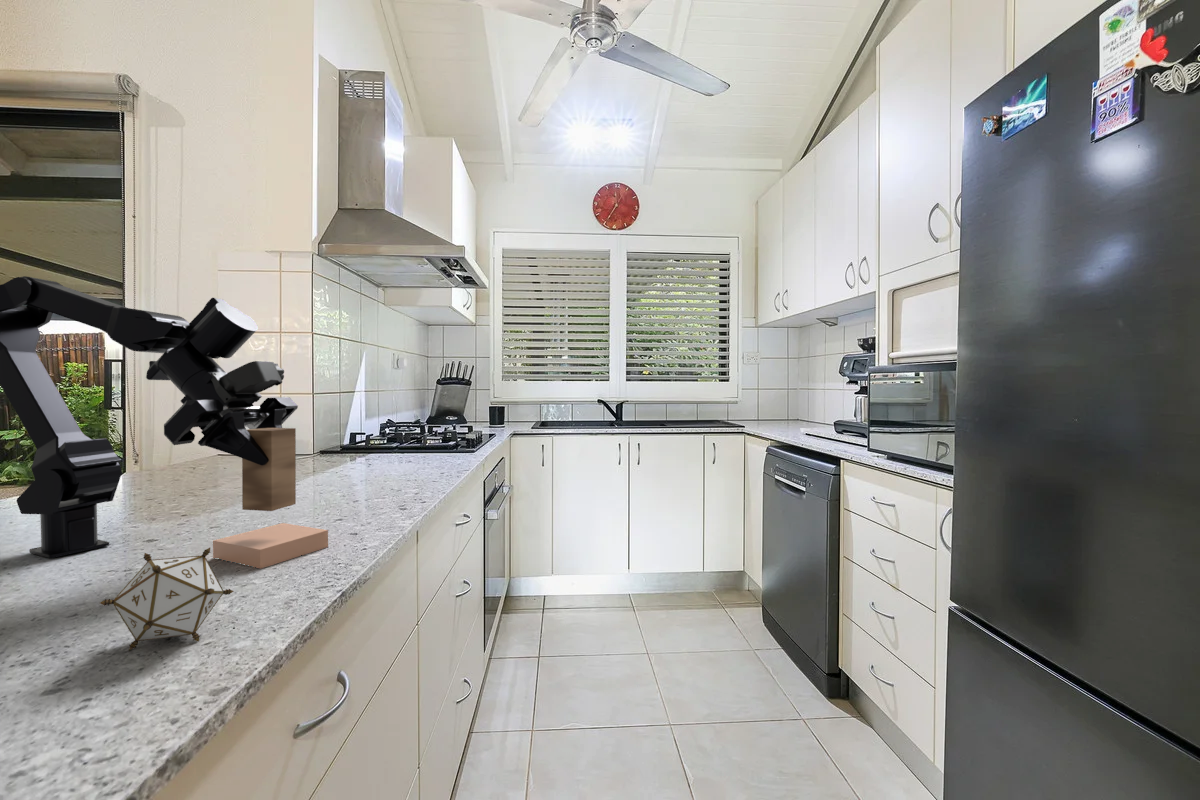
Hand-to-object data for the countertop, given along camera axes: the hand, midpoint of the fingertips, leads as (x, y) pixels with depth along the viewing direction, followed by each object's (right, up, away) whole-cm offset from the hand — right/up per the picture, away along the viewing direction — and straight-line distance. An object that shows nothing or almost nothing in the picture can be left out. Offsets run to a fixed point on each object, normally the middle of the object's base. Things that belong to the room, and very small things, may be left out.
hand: (278, 460), depth 73 cm
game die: (+5, -14, -24) cm, 28 cm away
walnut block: (-1, -7, 0) cm, 7 cm away
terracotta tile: (-1, -13, +1) cm, 13 cm away
